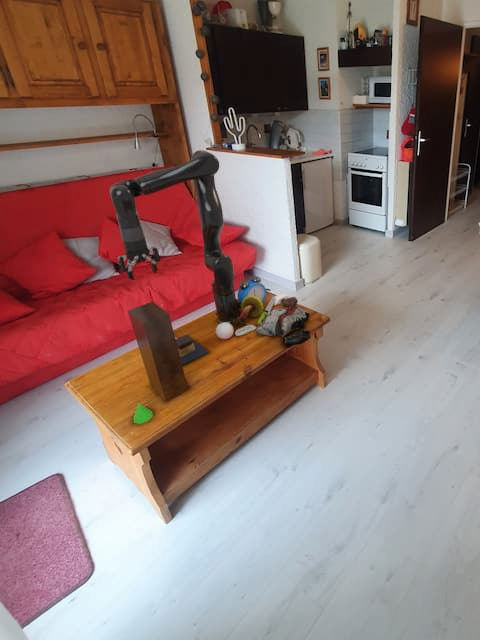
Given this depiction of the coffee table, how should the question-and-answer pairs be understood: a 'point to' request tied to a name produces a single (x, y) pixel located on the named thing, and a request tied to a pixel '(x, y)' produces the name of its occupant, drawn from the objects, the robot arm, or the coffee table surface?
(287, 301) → the stone
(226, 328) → the white egg
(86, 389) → the coffee table surface
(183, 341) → the brush
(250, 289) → the alarm clock
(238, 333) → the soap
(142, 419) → the gemstone
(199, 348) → the mat
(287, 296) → the toy vehicle
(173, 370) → the tall dark wooden block
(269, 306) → the kitchen knife
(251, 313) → the mushroom
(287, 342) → the toy car
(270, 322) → the stone
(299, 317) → the athletic shoe
